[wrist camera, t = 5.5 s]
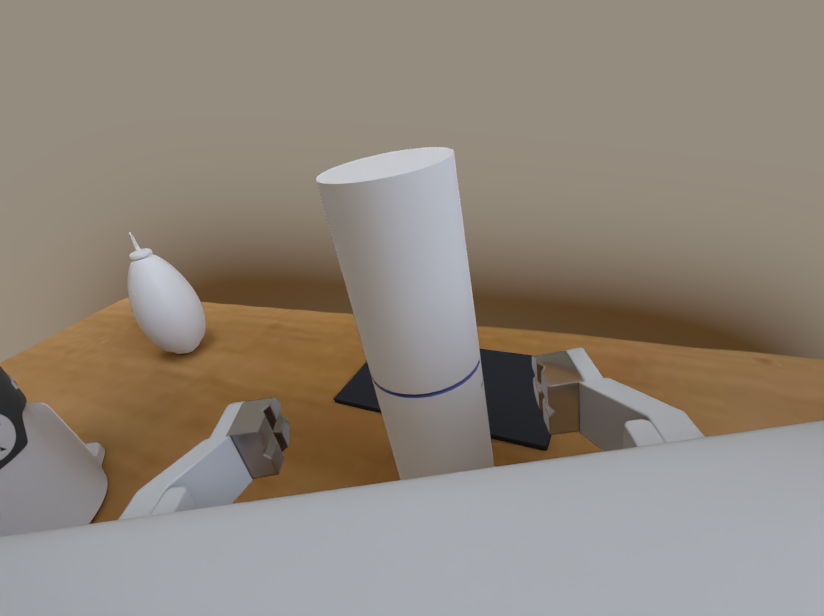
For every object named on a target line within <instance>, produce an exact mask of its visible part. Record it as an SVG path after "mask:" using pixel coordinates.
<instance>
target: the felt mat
mask: <svg viewBox="0 0 824 616" xmlns="http://www.w3.org/2000/svg"><path fill="white" fill-rule="evenodd" d="M479 350H480V358H481V365H482V374H483V381H484V389H485V397H486V405H487V413H488V421H489V429H490V437H491V438H494V439H498V440H503V441H507V442H511V443H516V444H520V445H524V446H529V447H533V448H538V449H542V450H547V447H548V444H549V441H550V437H551V435H550V433H549V431H548V428H547V426H546V424H545V421H544V417H543V411H542V410H541V409H539V406H538V404H537V401H536V397H535V393H534V387H533V378H534V376H535V373H534V371H533V369H532V356H531V355H524V354H516V353H508V352H500V351H493V350H485V349H479ZM334 400H335V402H337V403H341V404H346V405H350V406H354V407H359V408H363V409H368V410H372V411H376V412H381V409H380V406H379V402H378V399H377V395H376V391H375V388H374V384H373V381H372V377H371V374H370V370H369V367H368V363H367V362H366V363H365V365H364V366H363V367H362V368H361V369H360V370H359V371H358V372H357V374H356V375H355V376H354V377H353V378H352V379H351V380H350V381H349V382H348V384H347V385H346V386H345V387H344V388H343V389H342V390H341V391H340V392H339V394H338V395H337V396H336V397H335V398H334Z"/></svg>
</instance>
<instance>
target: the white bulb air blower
mask: <svg viewBox="0 0 824 616" xmlns="http://www.w3.org/2000/svg"><path fill="white" fill-rule="evenodd" d="M129 235H130V238H131V240H132V243H133V245H134V247H135V249H136V251H134V252H132V253H131V254H130V255H129V258H130V260H132V262H131V264H130V267H129V271H128V293H129V300H130V304H131V308H132V311H133V314H134V316H135V318H136V321H137V323H138V324H139V326H140V328H141V329H142V331H143V332H144V333H145V335H146V336H147V337H148V338H149V339H150V340H151V341H152V342H153V343H154V344H155V345H157V346H158V347H160V348H161V349H163V350H165V351H167V352H175V353H177V354H182V353H190V352H192V351H193V350H195V348H196V347H197V346H198V345H199V344H200V341H201V339H202V338H203V337H204V334H205V326H206V322H205V315H204V311H203V307H202V305H201V302H200V300H199V298H198V296H197V294H196V293H195V291H194V289H193V288H192V287H191V285H190V284H189V283H188V281H187V280H186V279H185V278H184V277H183V276H182V275H181V274H180V273H179V272H178V271H177V270H176V269H175V268H174V267H173V266H172V265H170V264H169V263H168V262H166V261H165V260H163V259H162V258H160V257H158V256H156V255H153V254H152V250H151V249H149V248H145V249H140V247H139V246H138V244H137V242H136V240H135V238H134V237H133V235H132V234H131V233H130V232H129Z"/></svg>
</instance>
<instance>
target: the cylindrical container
mask: <svg viewBox="0 0 824 616" xmlns="http://www.w3.org/2000/svg"><path fill="white" fill-rule="evenodd" d="M316 182H317V185H318V189H319V193H320V196H321V200H322V203H323V207H324V210H325V213H326V217H327V221H328V224H329V228H330V231H331V235H332V239H333V242H334V246H335V249H336V253H337V256H338V260H339V263H340V267H341V270H342V274H343V277H344V281H345V285H346V288H347V292H348V295H349V299H350V302H351V306H352V309H353V313H354V317H355V320H356V324H357V327H358V331H359V334H360V338H361V342H362V345H363V349H364V352H365V356H366V359H367V363H368V367H369V370H370V374H371V377H372V381H373V384H374V388H375V391H376V395H377V399H378V402H379V406H380V409H381V413H382V416H383V420H384V423H385V427H386V430H387V434H388V437H389V441H390V445H391V448H392V452H393V455H394V459H395V462H396V466H397V469H398V473H399V477H400V480H406V479H413V478H420V477H427V476H434V475H441V474H448V473H456V472H463V471H470V470H477V469H484V468H491V467H494V460H493V453H492V445H491V437H490V429H489V421H488V413H487V405H486V397H485V389H484V381H483V374H482V365H481V358H480V350H479V342H478V334H477V327H476V320H475V312H474V303H473V296H472V288H471V280H470V273H469V265H468V257H467V251H466V250H467V249H466V242H465V234H464V226H463V219H462V211H461V204H460V196H459V188H458V180H457V173H456V165H455V157H454V151H453V150H452V149H450V148H444V147H427V148H417V149H407V150H401V151H395V152H389V153H384V154H380V155H375V156H370V157H366V158H362V159H359V160H355V161H351V162H348V163H345V164H342V165H339V166H337V167H334V168H331V169H329V170H327V171H325V172H323V173H321V174H320V175H319V176H318V177H317V178H316Z"/></svg>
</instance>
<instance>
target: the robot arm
mask: <svg viewBox="0 0 824 616" xmlns="http://www.w3.org/2000/svg"><path fill="white" fill-rule="evenodd" d="M532 369H533V371H534V373H535V376H534V378H533V387H534V393H535V397H536V401H537V404H538V406H539V409H541V410H542V411H543V417H544V421H545V424H546V426H547V428H548V431H549V433H550V435H555V434H563V433H571V432H580V433H581V434H582V435H583V436H585V437H586V438H587V439H589V440H590V441H591V442H593V443H594V444H595V445H597V446H598V447H599V448H601V449H602V450H603V451H604V452H597V453H590V454H583V455H576V456H569V457H562V458H555V459H547V460H540V461H533V462H526V463H519V464H512V465H505V466H498V467H491V468H484V469H477V470H470V471H463V472H456V473H448V474H441V475H434V476H427V477H420V478H413V479H406V480H399V481H392V482H385V483H378V484H370V485H363V486H356V487H349V488H342V489H335V490H328V491H321V492H314V493H307V494H300V495H292V496H285V497H278V498H271V499H264V500H257V501H250V502H243V503H236V504H232V503H233V502H234V501H235V500H236V499H237V498H238V497H239V495H240V494H241V493H242V492H243V491H244V490H245V489H246V487H247V486H248V485H249V484H250V483H251V482H252V481H253V480H252V479H256V478H261V477H267V476H273V475H278V474H279V472H280V469H281V466H282V463H283V460H284V456H283V453H282V452H283V451H284V450H285V449H286V448H287V447H288V444H289V441H290V427H289V422H288V420H287V418H286V417H285V416H284V415H282V414H281V413H280V410H281V408H282V406H281V404H280V402H279V400H278V398H276V397H271V398H264V399H256V400H249V401H242V402H236V403H231V404H229V405H228V406H227V407H226V409H225V411H224V413H223V415H222V416H221V418H220V420H219V422H218V424H217V425H216V427H215V429H214V431H213V433H212V434H211V436H210V438H209V439H206V440H203V441H202V442H201V443H200V444H198V445H197V446H196V447H194V448H193V449H192V450H190V451H189V452H188V453H186V454H185V455H184V456H183V457H181V458H180V459H179V460H177V461H176V462H175V463H173V464H172V465H171V466H169V467H168V468H167V469H165V470H164V471H163V472H162V473H160V474H159V475H158V476H156V477H155V478H154V479H152V480H151V481H150V482H148V483H147V484H146V485H144V486H143V487H142V488H141V489H139V490H138V491H137V492H136V493H135V495H134V496H133V498H132V500H131V501H130V503H129V504H128V506H127V507H126V509H125V510H124V512H123V513H122V515H121V516H120V518H119V519H118V520H115V521H108V522H101V523H94V524H89V523H90V522H91V521H92V519H93V518H94V516H95V515H96V513H97V512H98V510H99V508H100V506H101V504H102V502H103V500H104V498H105V495H106V492H107V486H108V480H107V476H106V474H105V472H104V470H103V468H102V462H103V459H104V455H105V449H104V448H103V447H102V446H101V445H100V444H99V443H97V442H94V443H88V444H84V443H83V441H82V440H81V439H80V438H79V437H78V436H77V435H76V434H75V433H74V432H73V431H72V430H71V428H70V427H69V426H68V425H67V424H66V423H65V422H64V421H63V420H62V419H61V418H60V417H59V416H58V415H57V413H56V412H55V411H54V410H53V409H52V408H51V407H50V406H49V405H47V404H46V403H43V402H40V403H38V402H26V397H25V396H24V394H23V393H22V392H21V390H20V389H19V388H18V387H17V385H18V384H17V383H16V382H15V380H14V379H13V378H12V377H11V376H10V375H8V374H6V372H5V371H4V370H3V369H2V368H1V367H0V616H824V420H822V421H815V422H809V423H802V424H795V425H788V426H781V427H774V428H767V429H760V430H753V431H746V432H739V433H732V434H725V435H718V436H711V437H705V436H704V435H703V434H702V433H701V432H700V430H699V429H698V428H697V427H696V426H695V424H694V423H693V422H692V421H691V420H690V418H689V417H688V416H687V415H686V414H685V412H683V411H681V410H679V409H677V408H674V407H672V406H670V405H668V404H666V403H663V402H661V401H659V400H657V399H654V398H652V397H650V396H648V395H646V394H643V393H641V392H639V391H637V390H634V389H632V388H630V387H628V386H626V385H623V384H621V383H619V382H617V381H614V380H612V379H610V378H603V377H602V375H601V374H600V372H599V371H598V370H597V368H596V367H595V365H594V364H593V362H592V361H591V359H590V358H589V356H588V355H587V353H586V352H585V350H584V349H583V348H581V347H579V348H574V349H569V350H565V351H560V352H554V353H548V354H542V355H536V356H532Z"/></svg>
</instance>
